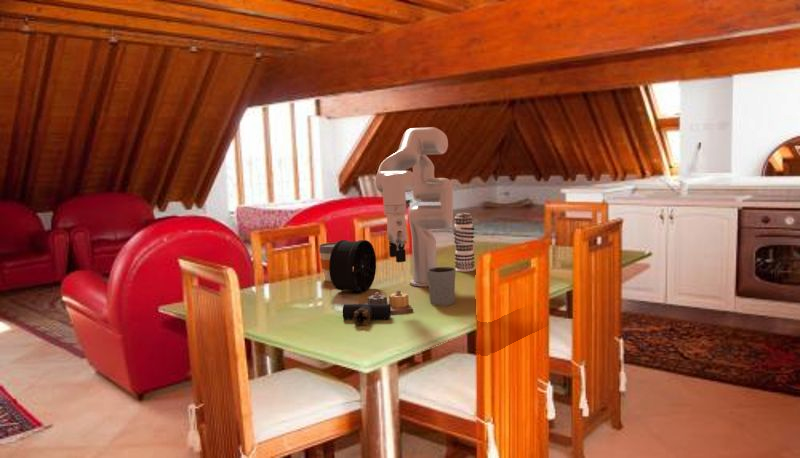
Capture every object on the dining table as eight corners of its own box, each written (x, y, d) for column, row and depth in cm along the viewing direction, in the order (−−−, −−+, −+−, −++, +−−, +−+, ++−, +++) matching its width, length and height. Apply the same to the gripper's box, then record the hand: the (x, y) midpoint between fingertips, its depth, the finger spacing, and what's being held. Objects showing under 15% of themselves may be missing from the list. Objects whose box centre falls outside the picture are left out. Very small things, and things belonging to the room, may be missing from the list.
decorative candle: (479, 268, 285) (477, 212, 281) (469, 272, 277) (468, 214, 274) (460, 266, 290) (458, 212, 286) (451, 270, 282) (449, 214, 278)
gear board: (403, 303, 228) (403, 286, 227) (413, 311, 216) (412, 294, 215) (365, 307, 225) (364, 289, 224) (372, 316, 212) (371, 298, 212)
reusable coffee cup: (315, 281, 271) (313, 246, 269) (329, 275, 283) (327, 242, 281) (341, 282, 267) (339, 247, 265) (355, 276, 278) (353, 242, 276)
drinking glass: (437, 307, 220) (436, 273, 218) (422, 301, 229) (421, 268, 227) (462, 303, 225) (461, 269, 223) (447, 297, 234) (445, 265, 232)
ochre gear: (405, 301, 225) (405, 291, 224) (410, 306, 219) (410, 295, 218) (387, 303, 223) (387, 293, 223) (392, 308, 217) (391, 297, 217)
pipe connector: (383, 310, 200) (336, 310, 202) (384, 327, 200) (337, 326, 203) (390, 302, 211) (346, 302, 213) (390, 317, 211) (346, 317, 214)
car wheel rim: (354, 297, 241) (351, 244, 238) (330, 295, 245) (327, 244, 242) (377, 285, 259) (374, 236, 256) (355, 284, 263) (352, 236, 260)
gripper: (412, 211, 209) (414, 262, 212) (399, 206, 226) (402, 253, 229) (390, 213, 208) (392, 265, 210) (378, 207, 224) (381, 255, 227)
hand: (397, 259), depth 219 cm, fingers open, 9 cm apart
